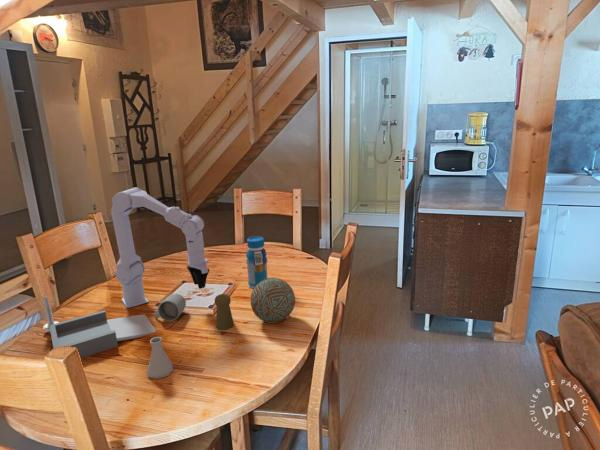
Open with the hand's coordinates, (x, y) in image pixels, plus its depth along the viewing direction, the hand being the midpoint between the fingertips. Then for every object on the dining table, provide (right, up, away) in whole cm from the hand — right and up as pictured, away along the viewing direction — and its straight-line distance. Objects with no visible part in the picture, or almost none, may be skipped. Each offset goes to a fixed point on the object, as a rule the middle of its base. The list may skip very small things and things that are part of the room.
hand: (199, 285), depth 148 cm
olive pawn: (+11, -12, -11) cm, 20 cm away
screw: (-47, -14, -11) cm, 50 cm away
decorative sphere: (+28, -11, -9) cm, 31 cm away
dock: (-27, -15, -15) cm, 34 cm away
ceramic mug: (-10, -10, -4) cm, 15 cm away
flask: (-2, -19, -34) cm, 39 cm away
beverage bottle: (+19, -3, +20) cm, 28 cm away
